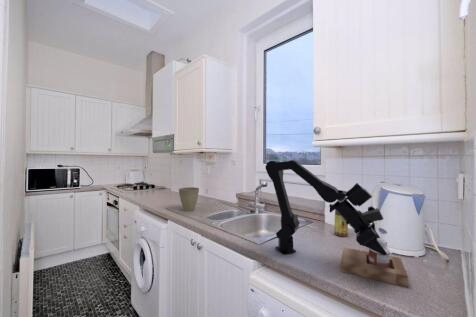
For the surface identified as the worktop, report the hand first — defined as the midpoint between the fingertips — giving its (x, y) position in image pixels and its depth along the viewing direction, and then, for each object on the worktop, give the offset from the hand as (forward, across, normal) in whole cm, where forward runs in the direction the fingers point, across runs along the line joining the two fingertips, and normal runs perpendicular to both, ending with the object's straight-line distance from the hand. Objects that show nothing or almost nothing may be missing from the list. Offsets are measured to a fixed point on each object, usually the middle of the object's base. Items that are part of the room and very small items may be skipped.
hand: (384, 249), depth 77 cm
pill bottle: (+5, 0, +7) cm, 8 cm away
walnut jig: (+3, 0, +8) cm, 9 cm away
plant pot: (-78, +32, +90) cm, 124 cm away
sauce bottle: (-6, +33, +17) cm, 38 cm away
